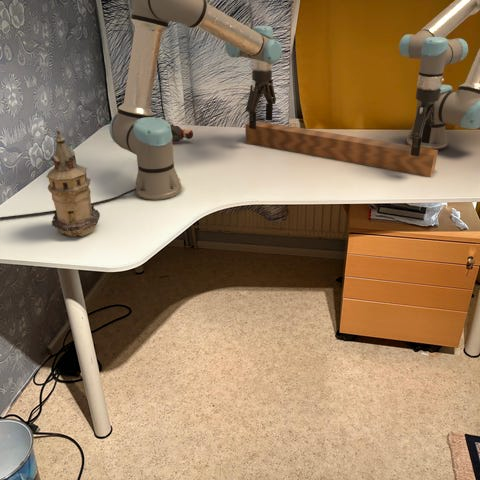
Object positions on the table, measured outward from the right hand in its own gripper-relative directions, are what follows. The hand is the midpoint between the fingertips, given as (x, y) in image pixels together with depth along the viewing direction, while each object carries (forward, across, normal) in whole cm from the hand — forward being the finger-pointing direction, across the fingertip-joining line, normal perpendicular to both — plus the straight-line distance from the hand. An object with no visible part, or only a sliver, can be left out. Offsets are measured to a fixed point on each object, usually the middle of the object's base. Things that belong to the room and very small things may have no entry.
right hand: (420, 149), depth 187 cm
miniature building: (+5, -92, +74) cm, 118 cm away
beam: (+8, -1, +32) cm, 32 cm away
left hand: (-1, -1, +63) cm, 63 cm away
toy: (+7, -19, +102) cm, 104 cm away
